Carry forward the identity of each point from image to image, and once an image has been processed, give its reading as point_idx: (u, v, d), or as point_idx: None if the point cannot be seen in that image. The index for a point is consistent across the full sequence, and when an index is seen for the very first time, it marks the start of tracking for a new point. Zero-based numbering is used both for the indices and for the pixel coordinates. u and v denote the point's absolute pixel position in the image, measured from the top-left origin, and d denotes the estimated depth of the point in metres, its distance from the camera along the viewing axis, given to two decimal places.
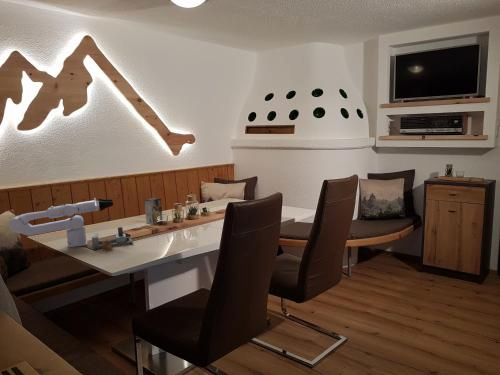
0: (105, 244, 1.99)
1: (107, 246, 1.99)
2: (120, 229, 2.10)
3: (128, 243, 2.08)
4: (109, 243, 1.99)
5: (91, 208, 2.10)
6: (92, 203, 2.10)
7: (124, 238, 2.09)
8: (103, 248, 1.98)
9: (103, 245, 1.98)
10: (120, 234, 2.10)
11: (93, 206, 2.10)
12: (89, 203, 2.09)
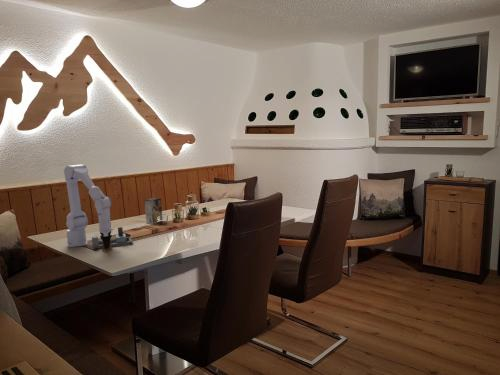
0: None
1: None
2: (120, 229, 2.10)
3: (128, 243, 2.08)
4: None
5: (103, 226, 1.97)
6: (108, 227, 1.98)
7: (124, 238, 2.09)
8: (103, 248, 1.98)
9: (103, 245, 1.98)
10: (120, 234, 2.10)
11: (105, 228, 1.97)
12: (108, 224, 1.98)
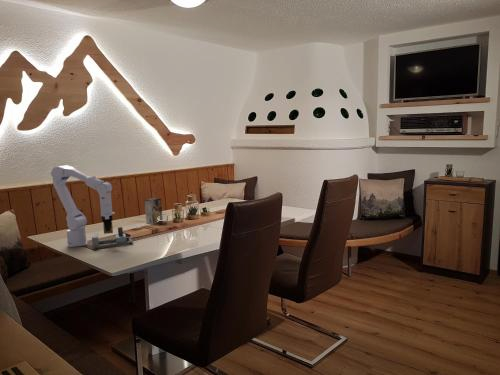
0: None
1: None
2: (120, 229, 2.10)
3: (128, 243, 2.08)
4: None
5: (104, 210, 2.04)
6: (109, 211, 2.05)
7: (124, 238, 2.09)
8: (104, 231, 2.06)
9: (104, 228, 2.05)
10: (120, 234, 2.10)
11: (106, 212, 2.04)
12: (110, 208, 2.05)
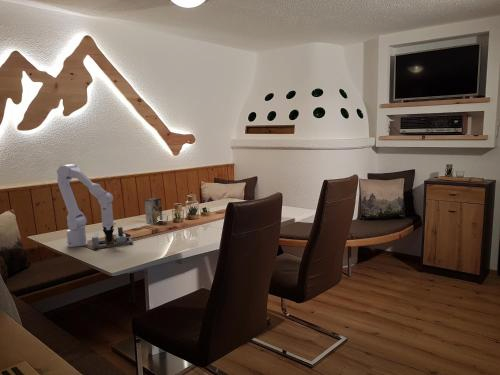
0: None
1: None
2: (120, 229, 2.10)
3: (128, 243, 2.08)
4: (112, 238, 2.08)
5: (105, 220, 2.05)
6: (111, 221, 2.07)
7: (124, 238, 2.09)
8: (106, 243, 2.07)
9: (106, 240, 2.07)
10: (120, 234, 2.10)
11: (107, 222, 2.06)
12: (111, 219, 2.07)
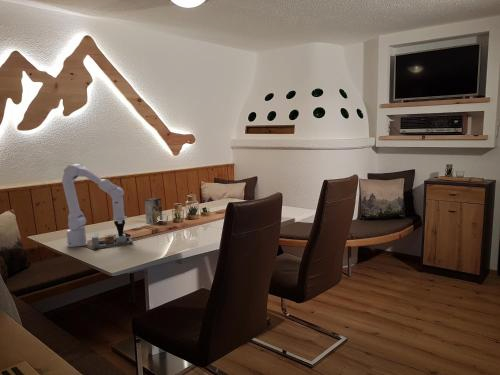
0: (108, 239, 2.07)
1: (110, 241, 2.08)
2: None
3: (128, 243, 2.08)
4: (112, 238, 2.08)
5: (117, 214, 2.07)
6: (122, 215, 2.08)
7: (124, 238, 2.09)
8: (106, 243, 2.07)
9: (106, 240, 2.07)
10: None
11: (119, 216, 2.07)
12: (122, 213, 2.09)
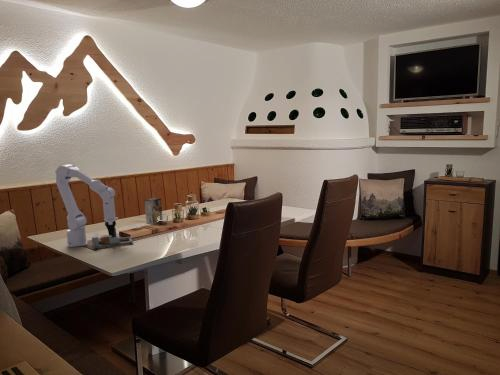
0: (104, 240, 2.07)
1: (105, 242, 2.07)
2: None
3: (128, 243, 2.08)
4: (107, 239, 2.07)
5: (107, 215, 2.05)
6: (113, 216, 2.07)
7: (117, 239, 2.07)
8: (101, 244, 2.06)
9: (101, 241, 2.06)
10: None
11: (109, 217, 2.06)
12: (113, 213, 2.07)
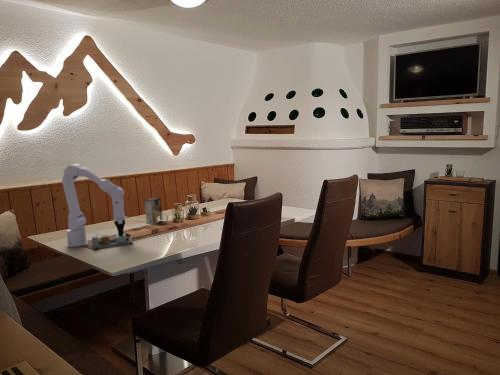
0: (104, 240, 2.07)
1: (105, 242, 2.07)
2: None
3: (128, 243, 2.08)
4: (107, 239, 2.07)
5: (117, 214, 2.07)
6: (122, 215, 2.08)
7: (124, 238, 2.09)
8: (101, 244, 2.06)
9: (101, 241, 2.06)
10: None
11: (119, 216, 2.07)
12: (122, 213, 2.09)
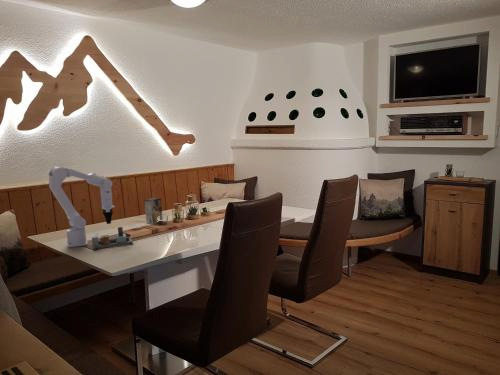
0: (104, 240, 2.07)
1: (105, 242, 2.07)
2: (120, 229, 2.10)
3: (128, 243, 2.08)
4: (107, 239, 2.07)
5: (105, 203, 2.17)
6: (110, 204, 2.19)
7: (124, 238, 2.09)
8: (101, 244, 2.06)
9: (101, 241, 2.06)
10: (120, 234, 2.10)
11: (107, 205, 2.18)
12: (110, 202, 2.19)
